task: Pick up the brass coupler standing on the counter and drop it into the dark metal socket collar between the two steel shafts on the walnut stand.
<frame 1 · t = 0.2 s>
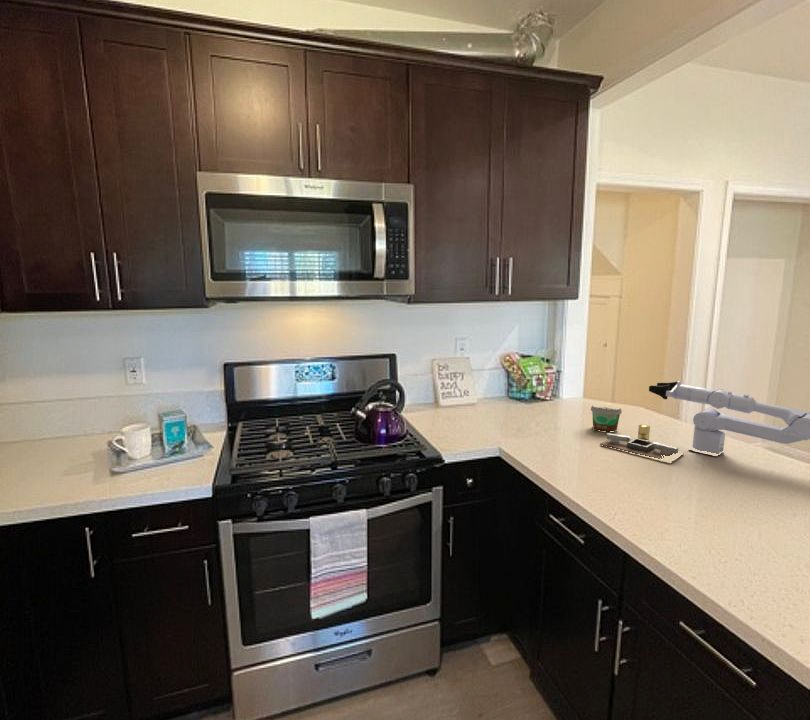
hand: (653, 386, 185), 21 cm above the worktop, tool horizontal, fingers open, 7 cm apart
brass coupler: (643, 440, 187), on the worktop
food container: (604, 431, 199), on the worktop
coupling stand: (640, 450, 176), on the worktop
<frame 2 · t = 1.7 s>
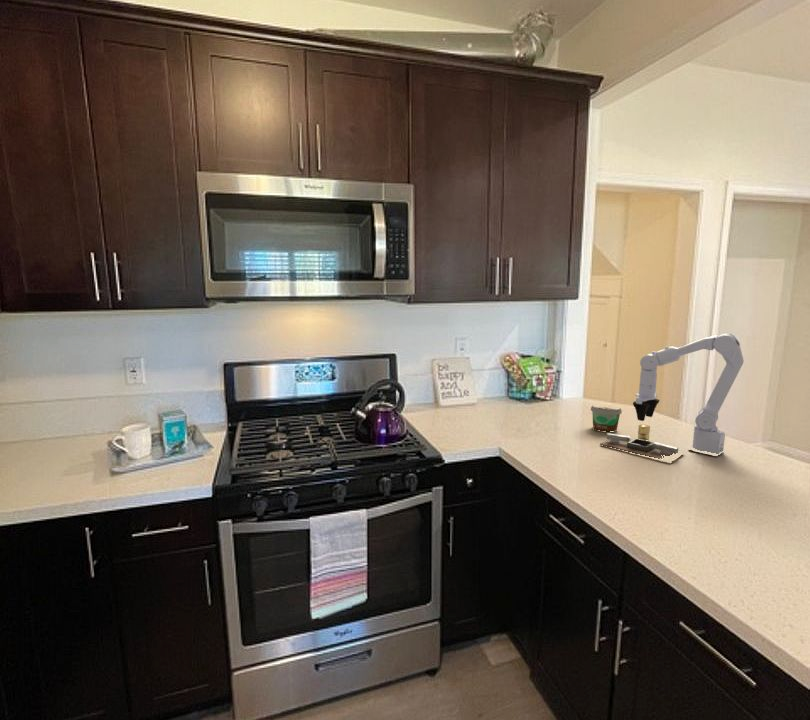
hand: (644, 418, 186), 9 cm above the worktop, tool pointing down, fingers open, 7 cm apart
nothing on the worktop moved.
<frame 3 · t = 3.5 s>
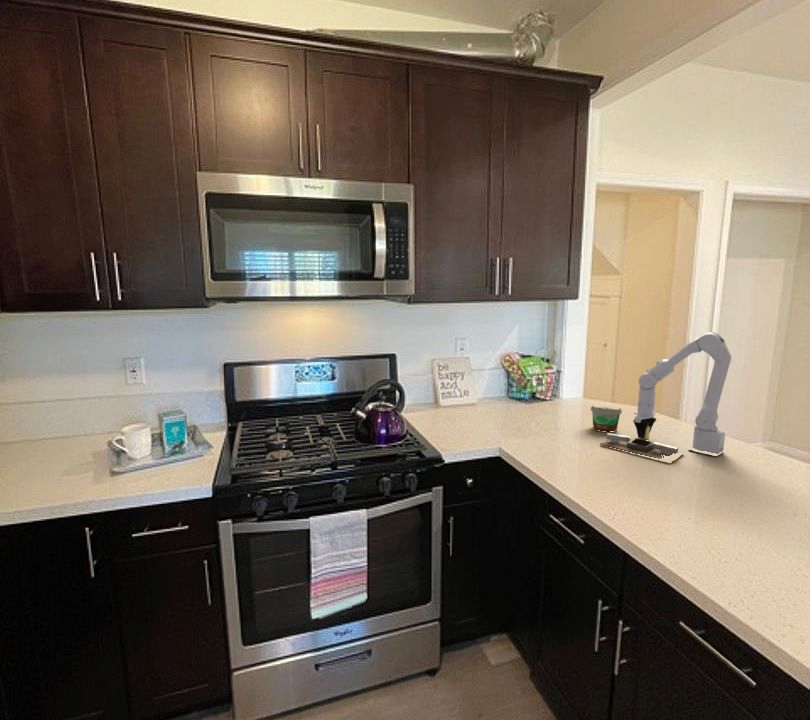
hand: (643, 436, 187), 2 cm above the worktop, tool pointing down, fingers closed on brass coupler, 4 cm apart
brass coupler: (643, 440, 187), on the worktop, touching gripper
everything else where it was.
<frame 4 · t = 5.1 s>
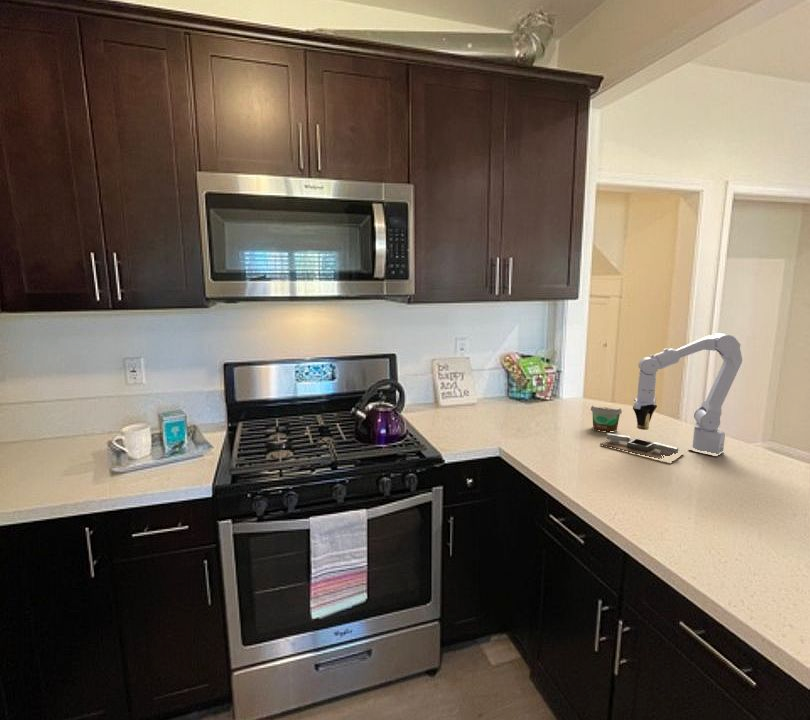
hand: (643, 423, 180), 9 cm above the worktop, tool pointing down, fingers closed on brass coupler, 4 cm apart
brass coupler: (642, 428, 180), point 7 cm above the worktop, touching gripper
everything else where it was.
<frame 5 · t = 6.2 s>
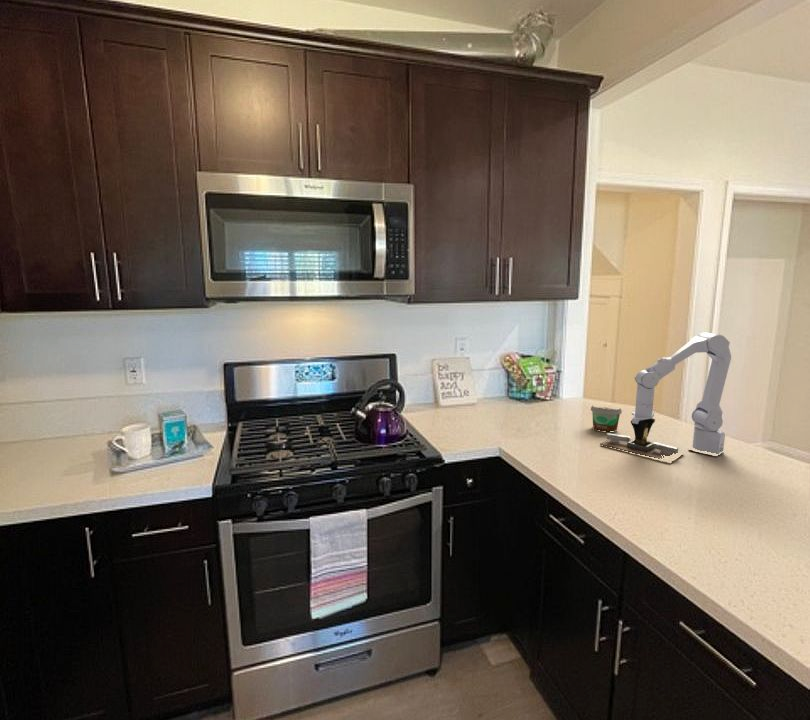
hand: (641, 438, 175), 5 cm above the worktop, tool pointing down, fingers closed on brass coupler, 4 cm apart
brass coupler: (640, 442, 176), point 3 cm above the worktop, touching gripper
everything else where it was.
when the fingers open (4 cm above the worktop, at t = 7.2 s): brass coupler drops 1 cm, resting on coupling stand.
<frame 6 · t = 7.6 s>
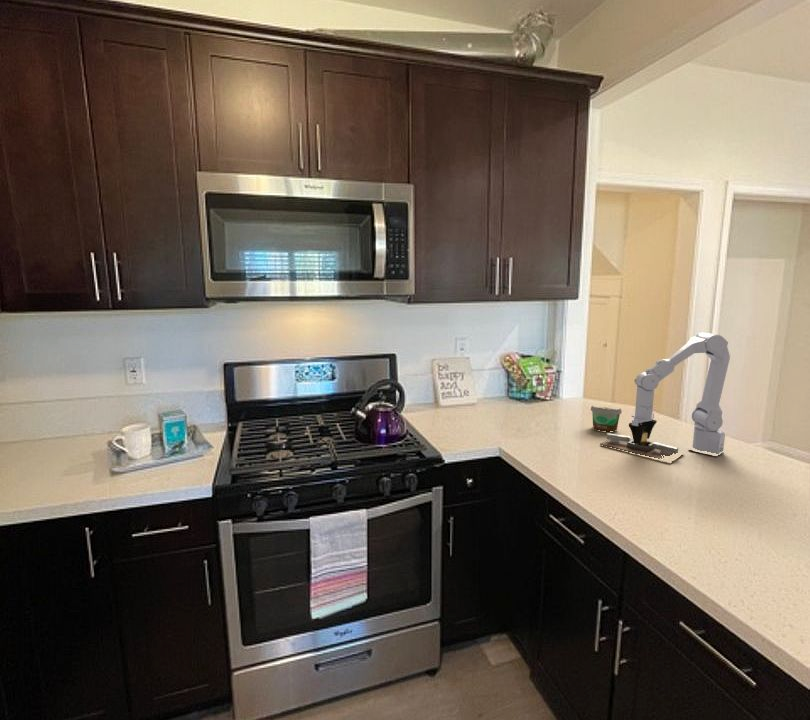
hand: (641, 440, 176), 4 cm above the worktop, tool pointing down, fingers open, 7 cm apart
brass coupler: (640, 447, 176), point 1 cm above the worktop, touching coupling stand
everything else where it was.
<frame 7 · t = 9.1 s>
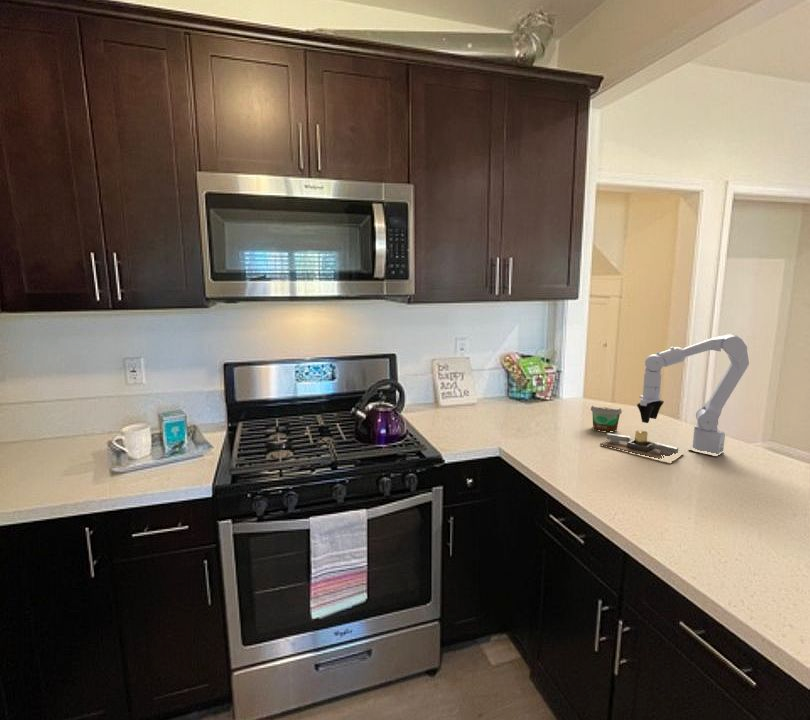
hand: (649, 420, 182), 9 cm above the worktop, tool pointing down, fingers open, 7 cm apart
nothing on the worktop moved.
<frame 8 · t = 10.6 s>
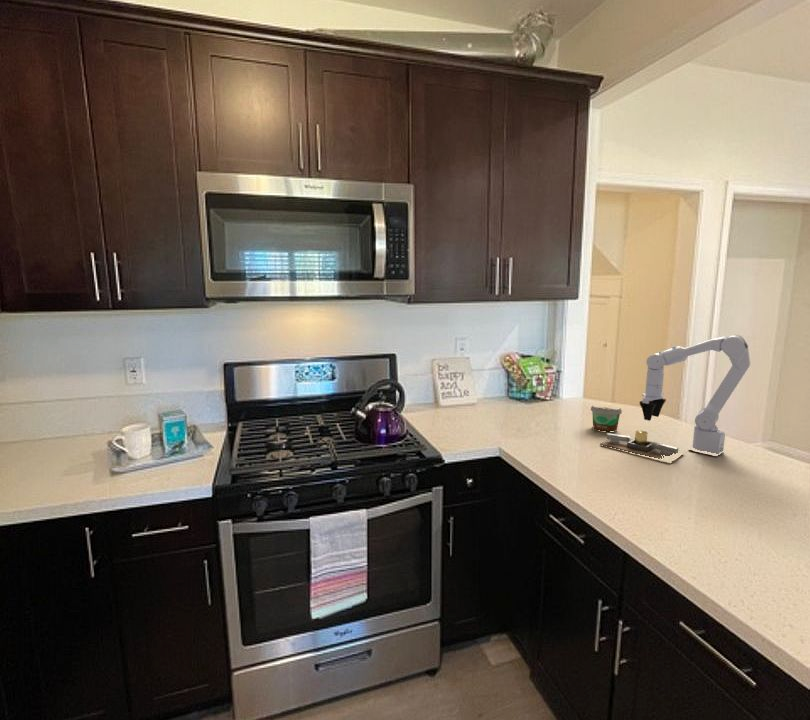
hand: (651, 418, 185), 9 cm above the worktop, tool pointing down, fingers open, 7 cm apart
nothing on the worktop moved.
at the end: brass coupler 0.2 cm off-centre on the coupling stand, point 1.0 cm above the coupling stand's base; brass coupler tilted 1°; the gripper is holding nothing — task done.
